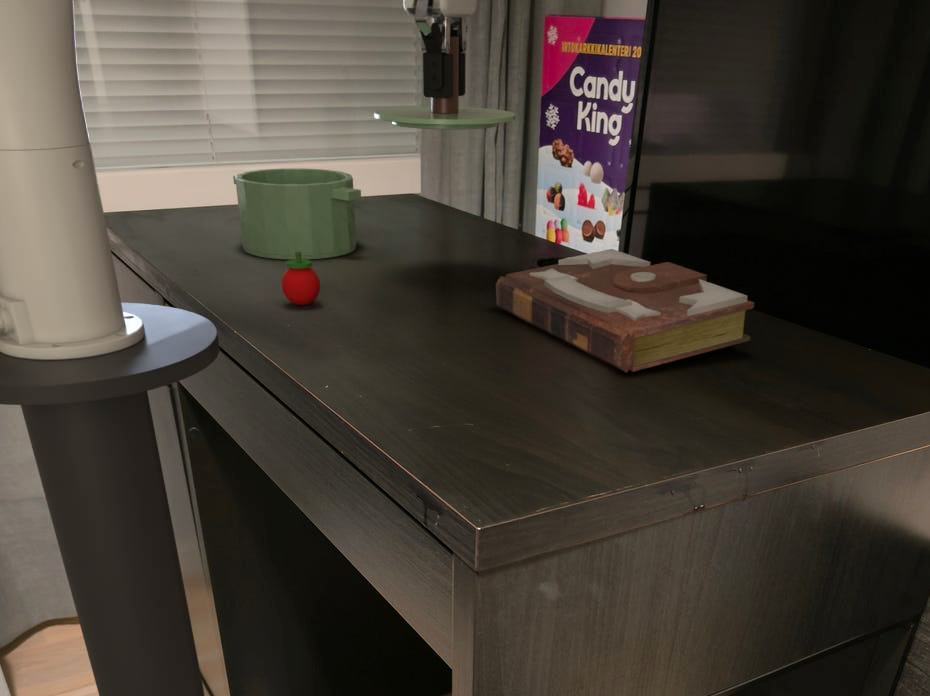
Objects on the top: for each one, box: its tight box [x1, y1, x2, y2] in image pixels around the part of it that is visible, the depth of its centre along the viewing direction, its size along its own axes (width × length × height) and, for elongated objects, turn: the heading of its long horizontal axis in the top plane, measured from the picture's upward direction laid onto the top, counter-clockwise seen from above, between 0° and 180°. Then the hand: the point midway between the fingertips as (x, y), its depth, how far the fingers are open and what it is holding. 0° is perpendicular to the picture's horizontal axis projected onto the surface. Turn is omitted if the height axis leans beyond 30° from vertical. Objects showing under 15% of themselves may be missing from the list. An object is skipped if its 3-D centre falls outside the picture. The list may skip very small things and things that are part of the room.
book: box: [495, 248, 755, 374], centre depth 90 cm, size 23×16×5 cm
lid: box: [373, 36, 516, 131], centre depth 99 cm, size 16×16×8 cm
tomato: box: [281, 251, 321, 306], centre depth 96 cm, size 4×4×5 cm
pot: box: [232, 167, 362, 261], centre depth 119 cm, size 15×20×8 cm
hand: (444, 94), depth 100 cm, fingers closed on lid, 3 cm apart
